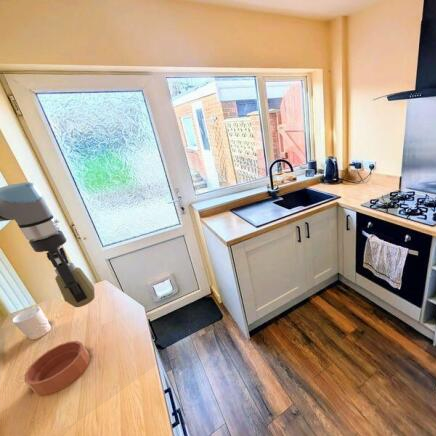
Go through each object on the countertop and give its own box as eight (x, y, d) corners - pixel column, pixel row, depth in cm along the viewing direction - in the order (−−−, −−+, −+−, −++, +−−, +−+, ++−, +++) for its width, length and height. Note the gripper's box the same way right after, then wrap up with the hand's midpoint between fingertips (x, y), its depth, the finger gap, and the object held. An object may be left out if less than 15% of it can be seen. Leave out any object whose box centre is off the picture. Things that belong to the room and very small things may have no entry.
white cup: (34, 343, 94) (19, 324, 90) (22, 338, 96) (7, 320, 92) (57, 326, 100) (44, 308, 96) (45, 322, 103) (32, 305, 99)
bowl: (34, 375, 81) (24, 363, 79) (86, 345, 90) (79, 333, 88) (35, 407, 72) (24, 394, 69) (94, 370, 81) (86, 358, 78)
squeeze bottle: (63, 309, 81) (34, 264, 74) (87, 292, 88) (62, 249, 81) (82, 311, 79) (53, 265, 71) (104, 294, 86) (80, 250, 79)
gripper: (64, 239, 68) (99, 301, 78) (57, 221, 82) (88, 276, 91) (28, 251, 63) (70, 316, 73) (27, 230, 77) (62, 287, 87)
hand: (80, 294), depth 82 cm, fingers closed on squeeze bottle, 8 cm apart
